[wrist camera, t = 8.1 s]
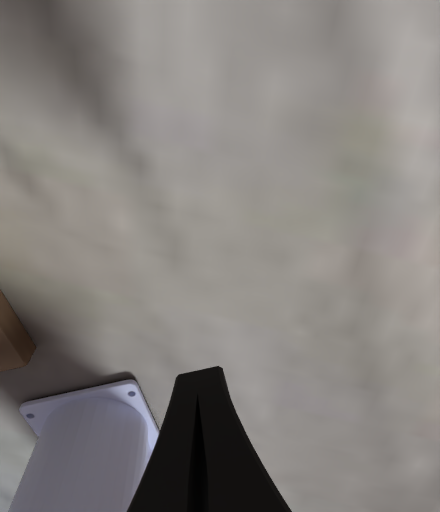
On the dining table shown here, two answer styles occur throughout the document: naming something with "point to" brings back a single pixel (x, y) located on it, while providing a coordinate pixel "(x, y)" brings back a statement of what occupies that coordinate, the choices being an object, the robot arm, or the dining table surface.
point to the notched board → (13, 339)
